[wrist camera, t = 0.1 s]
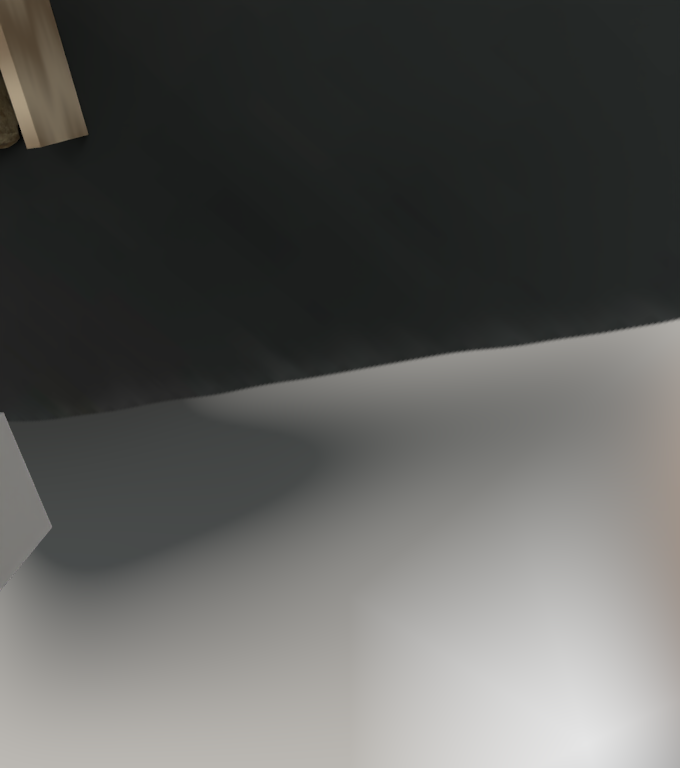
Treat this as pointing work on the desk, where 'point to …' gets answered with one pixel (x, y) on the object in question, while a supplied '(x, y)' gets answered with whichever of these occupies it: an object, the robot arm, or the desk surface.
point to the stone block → (7, 119)
